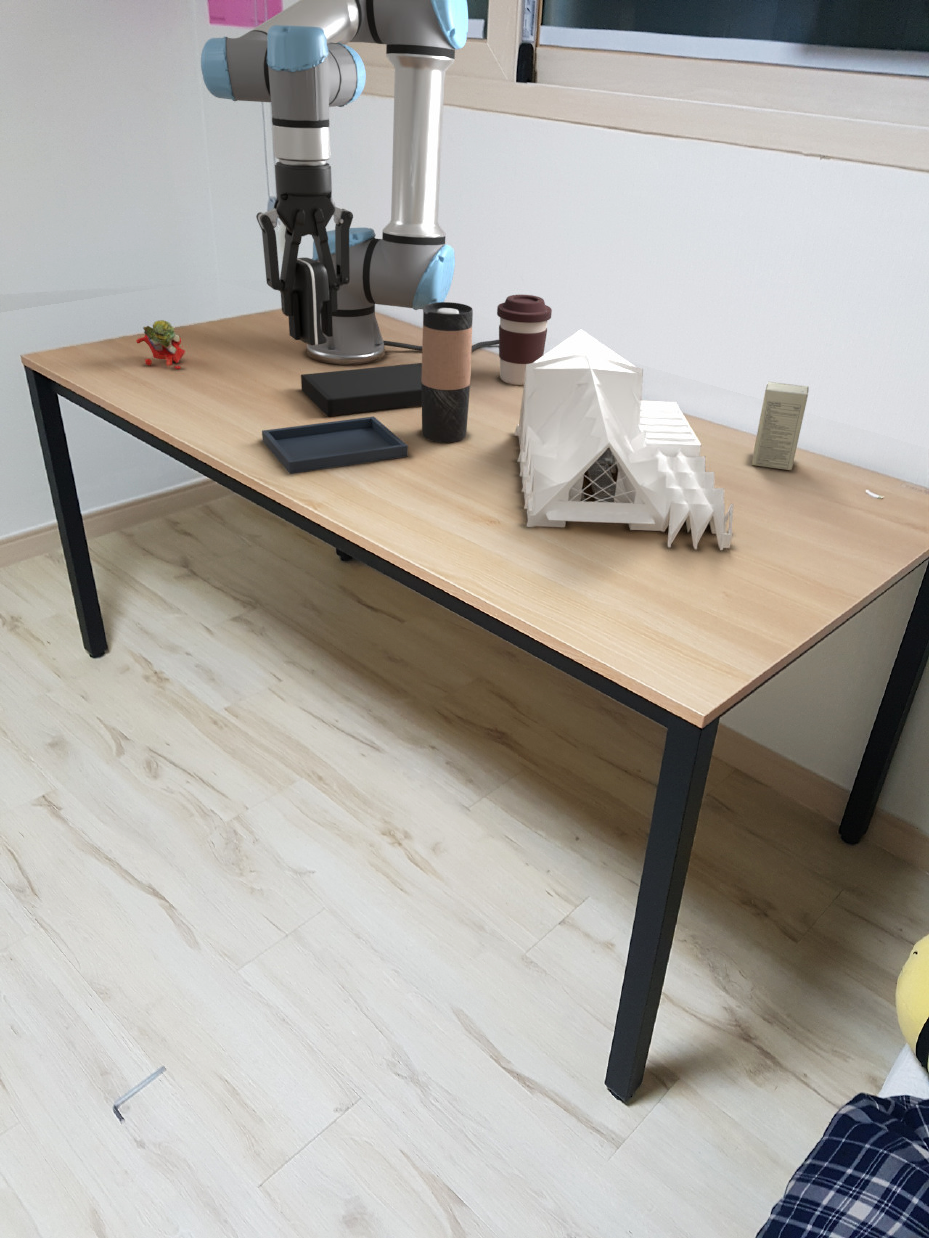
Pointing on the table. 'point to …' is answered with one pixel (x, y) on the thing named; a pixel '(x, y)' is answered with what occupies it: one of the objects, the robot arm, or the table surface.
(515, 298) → the coffee cup
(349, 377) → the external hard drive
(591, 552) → the table surface
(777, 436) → the cosmetic box
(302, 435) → the tray
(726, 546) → the white faceted model
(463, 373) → the travel mug
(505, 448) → the table surface
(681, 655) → the table surface
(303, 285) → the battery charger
